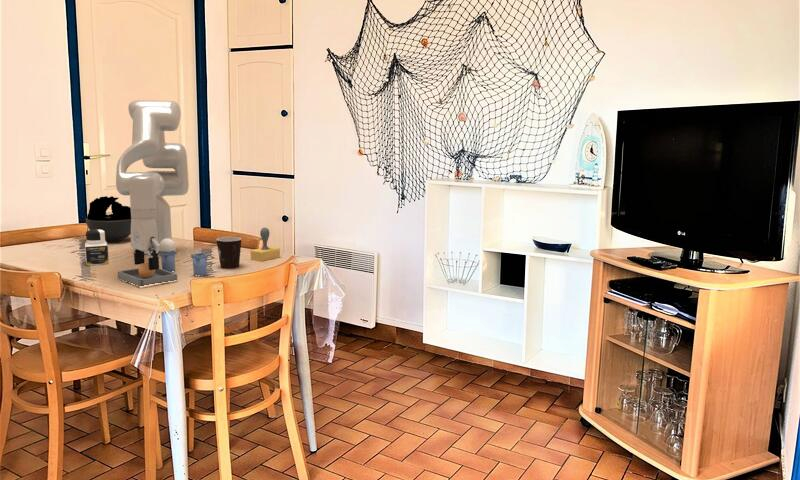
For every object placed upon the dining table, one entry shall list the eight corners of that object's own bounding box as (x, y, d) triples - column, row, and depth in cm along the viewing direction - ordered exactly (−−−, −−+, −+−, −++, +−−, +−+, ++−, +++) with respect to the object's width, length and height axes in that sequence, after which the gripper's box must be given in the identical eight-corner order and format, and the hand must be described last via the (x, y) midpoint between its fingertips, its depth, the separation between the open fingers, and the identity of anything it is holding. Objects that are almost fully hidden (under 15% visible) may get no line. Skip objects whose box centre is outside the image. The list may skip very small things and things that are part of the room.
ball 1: (136, 277, 208) (135, 262, 207) (151, 275, 211) (150, 260, 210) (143, 280, 204) (142, 265, 203) (158, 278, 208) (157, 263, 207)
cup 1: (159, 271, 220) (158, 251, 219) (171, 269, 224) (170, 249, 222) (165, 273, 217) (164, 253, 216) (177, 271, 221) (176, 251, 219)
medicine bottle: (86, 265, 226) (84, 232, 224) (86, 261, 233) (83, 229, 230) (108, 264, 230) (106, 231, 227) (107, 260, 236) (105, 227, 234)
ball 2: (157, 252, 219) (156, 238, 218) (171, 250, 223) (170, 236, 222) (164, 255, 216) (163, 240, 215) (178, 253, 219) (177, 238, 219)
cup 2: (190, 274, 216) (190, 254, 215) (202, 272, 219) (202, 252, 218) (197, 277, 213) (197, 256, 212) (209, 275, 216) (208, 254, 215)
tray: (118, 279, 209) (117, 271, 208) (153, 273, 218) (152, 265, 217) (140, 288, 198) (140, 280, 198) (177, 281, 207) (176, 274, 206)
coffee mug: (219, 264, 233) (218, 236, 231) (244, 264, 234) (243, 236, 232) (213, 271, 221) (212, 242, 220) (238, 271, 222) (238, 243, 220)
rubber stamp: (260, 262, 238) (260, 230, 236) (250, 259, 241) (249, 228, 239) (280, 257, 246) (279, 226, 244) (269, 255, 249) (269, 225, 247)
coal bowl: (102, 236, 282) (99, 193, 278) (147, 237, 281) (144, 194, 278) (77, 245, 262) (74, 199, 259) (126, 246, 261) (123, 200, 258)
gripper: (119, 212, 207) (123, 263, 210) (145, 219, 196) (148, 273, 199) (142, 209, 212) (145, 260, 216) (168, 216, 201) (171, 269, 204)
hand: (146, 266), depth 207 cm, fingers open, 9 cm apart
